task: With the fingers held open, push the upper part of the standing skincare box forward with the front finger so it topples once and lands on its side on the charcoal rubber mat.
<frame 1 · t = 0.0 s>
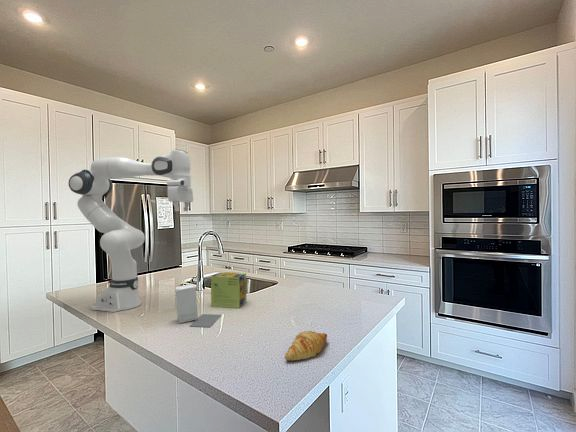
hand: (181, 211, 148), 48 cm above the countertop, tool pointing down, fingers open, 8 cm apart
skincare box: (187, 320, 133), on the countertop, touching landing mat
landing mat: (206, 320, 132), on the countertop
protein box: (229, 304, 154), on the countertop
croissant: (306, 352, 103), on the countertop
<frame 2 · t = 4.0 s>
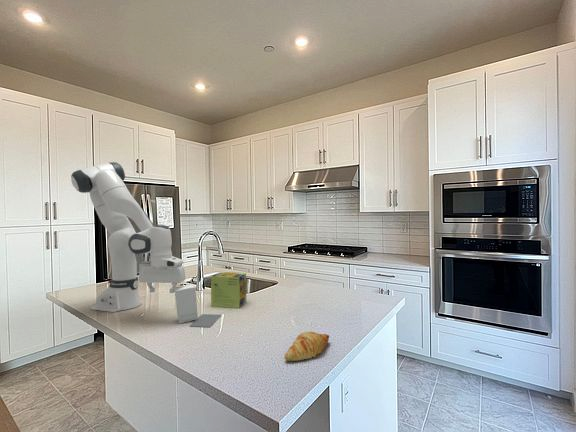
hand: (162, 292, 133), 12 cm above the countertop, tool pointing down, fingers open, 8 cm apart
skincare box: (187, 320, 133), on the countertop, touching gripper, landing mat
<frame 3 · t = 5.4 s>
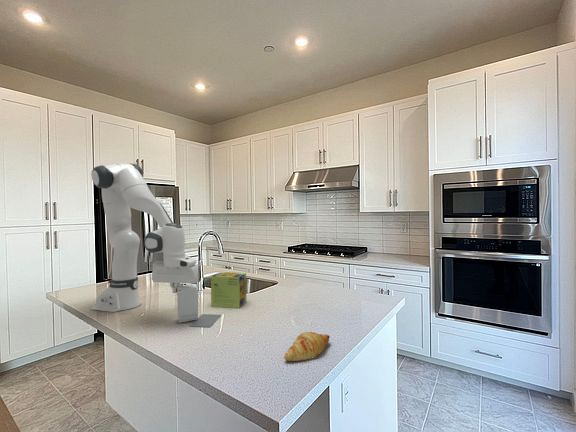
hand: (175, 292, 130), 13 cm above the countertop, tool pointing down, fingers closed, pressing on skincare box
skincare box: (187, 318, 133), point 1 cm above the countertop, touching gripper, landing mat
everything else where it was.
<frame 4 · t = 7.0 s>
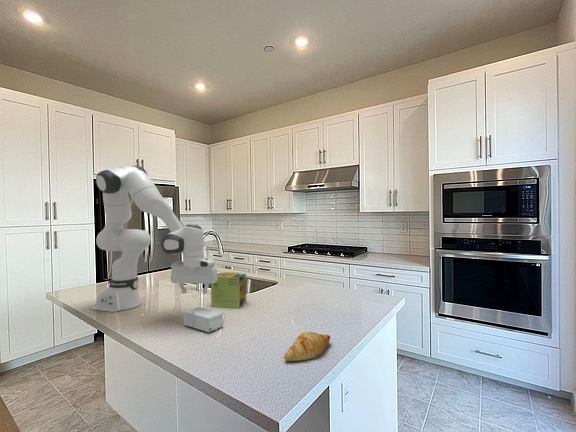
hand: (194, 293, 132), 12 cm above the countertop, tool pointing down, fingers open, 8 cm apart
skincare box: (190, 316, 129), point 3 cm above the countertop, touching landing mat
everything else where it was.
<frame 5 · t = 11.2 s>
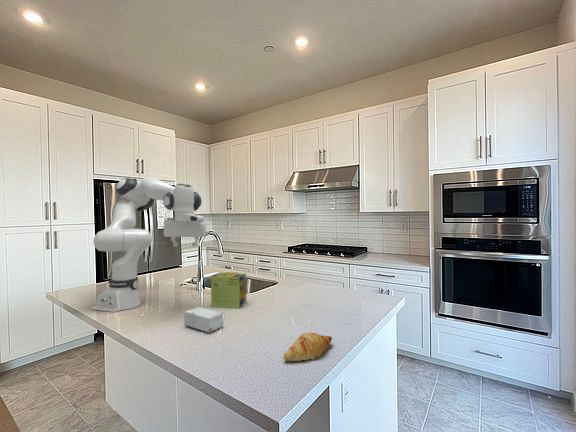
hand: (185, 246, 144), 31 cm above the countertop, tool pointing down, fingers open, 8 cm apart
at the end: skincare box tilted 89°; skincare box inside the target area (3.5 cm from its centre), point 3.2 cm above the countertop; skincare box touching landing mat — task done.
